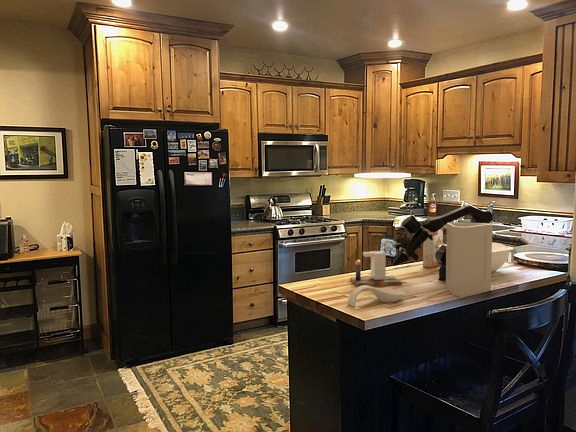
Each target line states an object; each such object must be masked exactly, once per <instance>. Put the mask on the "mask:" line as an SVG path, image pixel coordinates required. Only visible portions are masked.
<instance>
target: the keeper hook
mask: <svg viewBox="0 0 576 432" xmlns="http://www.w3.org/2000/svg"><path fill="white" fill-rule="evenodd" d="M354 264H355V277H356V280H361V277H362V275H361V274H362V273H361V271H362V269H361V267H362V265H361V264H362V262H361V260H360V259H357V260H355V263H354Z"/></svg>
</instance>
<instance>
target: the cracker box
mask: <svg viewBox="0 0 576 432" xmlns="http://www.w3.org/2000/svg"><path fill="white" fill-rule="evenodd" d="M423 230H425V229H424V228H423ZM426 231H427V230H426ZM427 232H428V233H429V234H432V238H433V240H429V239H427V240H426V241H425V242H424V243H423V244H422V245H423V248H422V249H423V250H422V267H423V268H430V269H434V268H435V267H438V266H440V265H439V263H438V261H437V260H436V259H435V254H436V252H437V251H436V250H438V249H439V247H438V246H439V245H443V243H444V242H443V240H444V239H443V238H444V236H443V235H444V227H443V228H441V229H440V230H438V231H437V232H430V231H427Z"/></svg>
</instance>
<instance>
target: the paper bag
mask: <svg viewBox="0 0 576 432" xmlns="http://www.w3.org/2000/svg"><path fill="white" fill-rule="evenodd" d="M492 243H493V223H489V224H487V223H470V222H450V223H447V224H446V244H447V246H446V281H445V288H446V289H447V290H448V292H450V294H451V295H453V296H454V297H455V296H456V297H460V298H465V297H469V296H472V295H478V294H481V293H487V292H490V291H492V272H491V263H492Z"/></svg>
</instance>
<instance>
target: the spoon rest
mask: <svg viewBox="0 0 576 432" xmlns="http://www.w3.org/2000/svg"><path fill="white" fill-rule="evenodd" d="M367 290H368V291H370V293H372V294H373V295H374V296H375V297H376V298H377V300H379V301H380V302H382V303H395V302H398V301H400V300H401V299H402V298H403V297H404V296H405V292H404V291H402V290H399V289H396V288H385V287H375V286H367V285H363V286H359V287H356V288H354V289H353V290H352V291H351V293H350V294H349V297H348V299H347V305H349V306H351V308H355V307H356V303H357V297H358V296H359V294H360V293H361V292H363V291H367Z"/></svg>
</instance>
